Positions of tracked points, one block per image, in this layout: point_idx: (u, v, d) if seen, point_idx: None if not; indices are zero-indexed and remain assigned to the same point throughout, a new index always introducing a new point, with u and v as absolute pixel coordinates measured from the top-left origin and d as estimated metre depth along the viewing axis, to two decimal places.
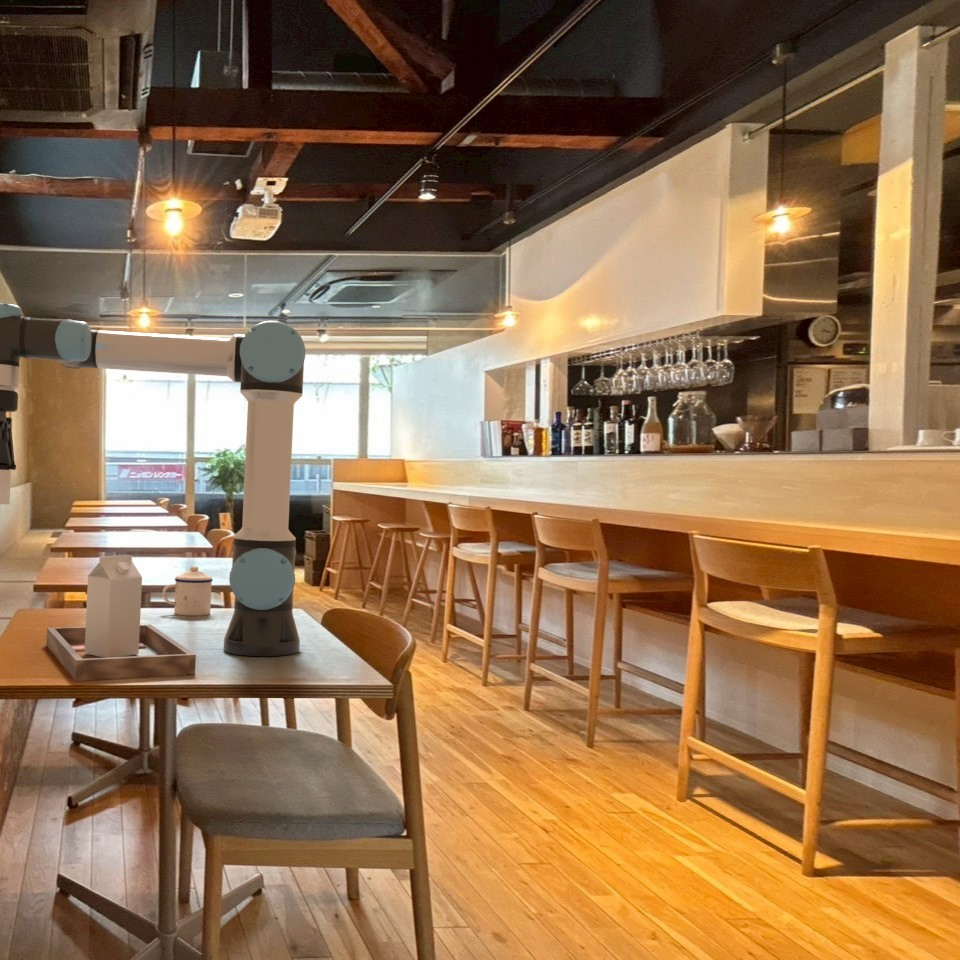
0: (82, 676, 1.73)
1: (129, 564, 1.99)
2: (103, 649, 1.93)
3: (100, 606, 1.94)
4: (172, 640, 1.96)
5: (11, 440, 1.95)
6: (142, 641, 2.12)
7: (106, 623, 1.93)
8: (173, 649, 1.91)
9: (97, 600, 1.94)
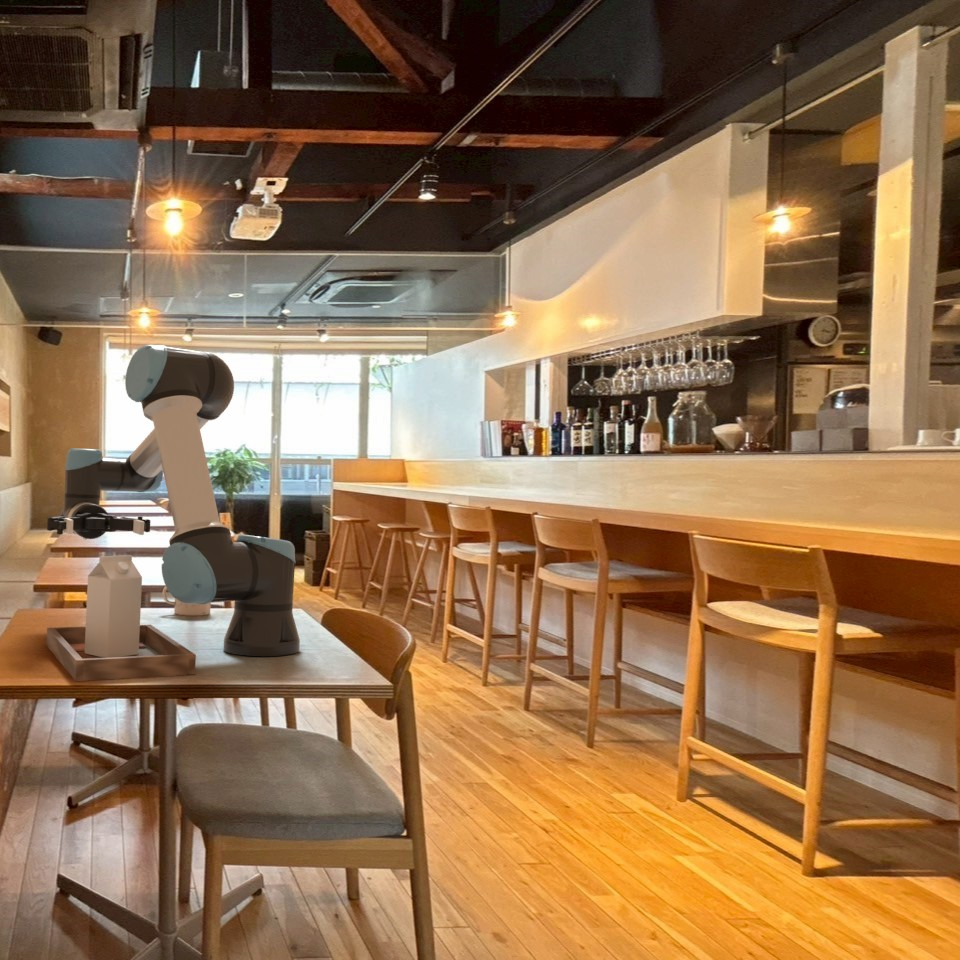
0: (82, 676, 1.73)
1: (129, 564, 1.99)
2: (103, 649, 1.93)
3: (100, 606, 1.94)
4: (172, 640, 1.96)
5: (132, 518, 2.20)
6: (142, 641, 2.12)
7: (106, 623, 1.93)
8: (173, 649, 1.91)
9: (97, 600, 1.94)
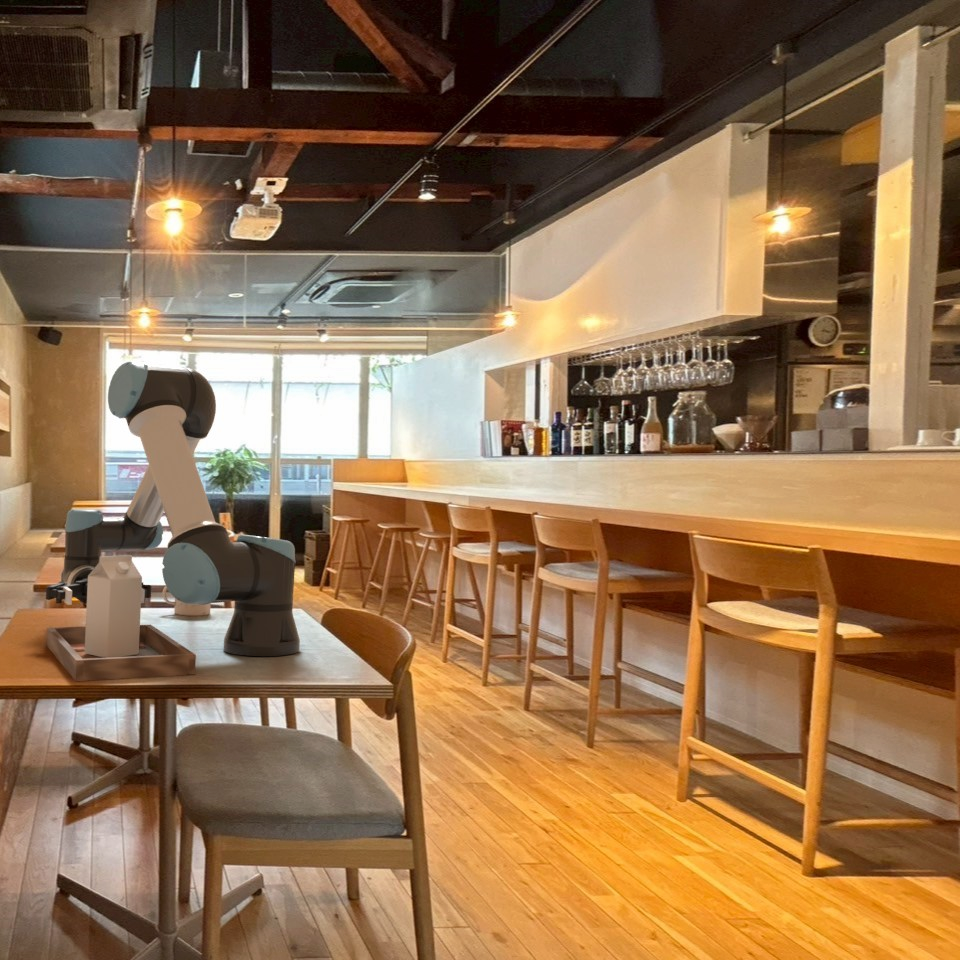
0: (82, 676, 1.73)
1: (129, 564, 1.99)
2: (103, 649, 1.93)
3: (100, 606, 1.94)
4: (172, 640, 1.96)
5: None
6: (142, 641, 2.12)
7: (106, 623, 1.93)
8: (173, 649, 1.91)
9: (97, 600, 1.94)
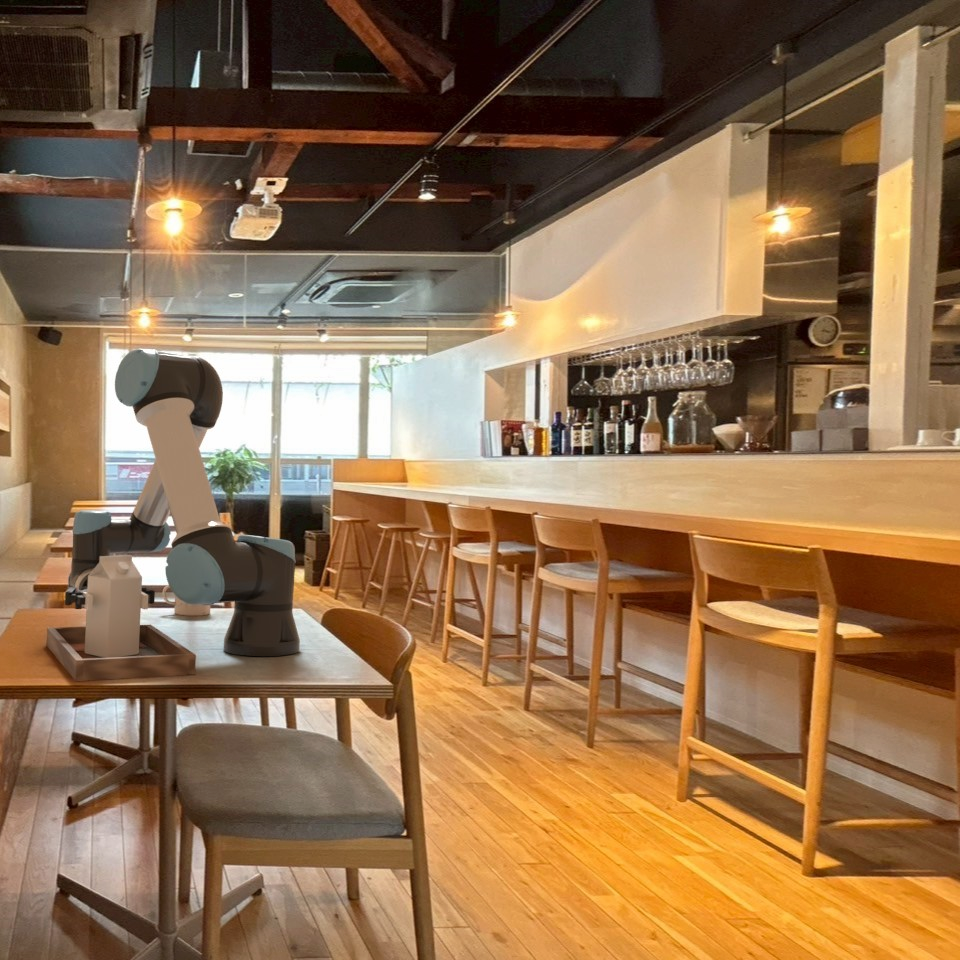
0: (82, 676, 1.73)
1: (129, 564, 1.99)
2: (103, 649, 1.93)
3: (100, 606, 1.94)
4: (172, 640, 1.96)
5: None
6: (142, 641, 2.12)
7: (106, 623, 1.93)
8: (173, 649, 1.91)
9: (97, 600, 1.94)
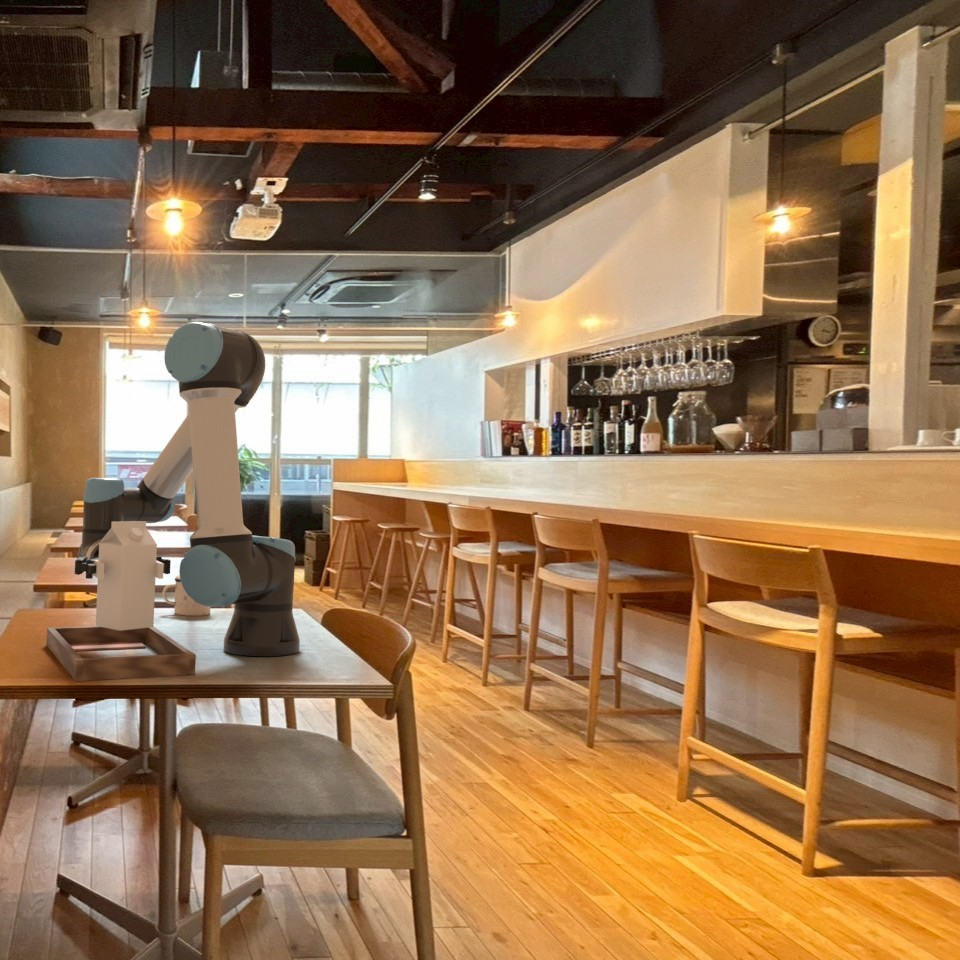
0: (82, 676, 1.73)
1: (143, 531, 1.86)
2: (116, 621, 1.80)
3: (112, 575, 1.81)
4: (172, 640, 1.96)
5: None
6: (142, 641, 2.12)
7: (119, 592, 1.80)
8: (173, 649, 1.91)
9: (109, 568, 1.81)
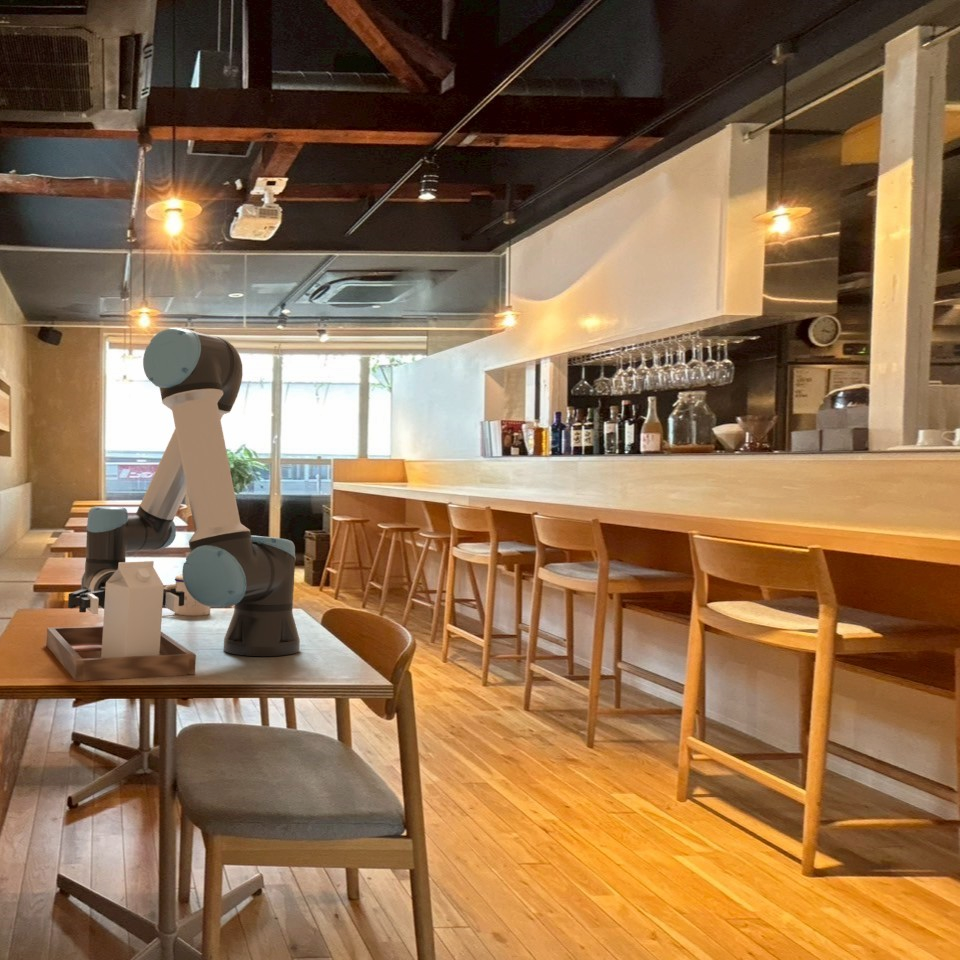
0: (82, 676, 1.73)
1: (150, 571, 1.84)
2: None
3: (118, 616, 1.79)
4: (172, 640, 1.96)
5: None
6: None
7: (124, 635, 1.78)
8: (173, 649, 1.91)
9: (115, 609, 1.80)
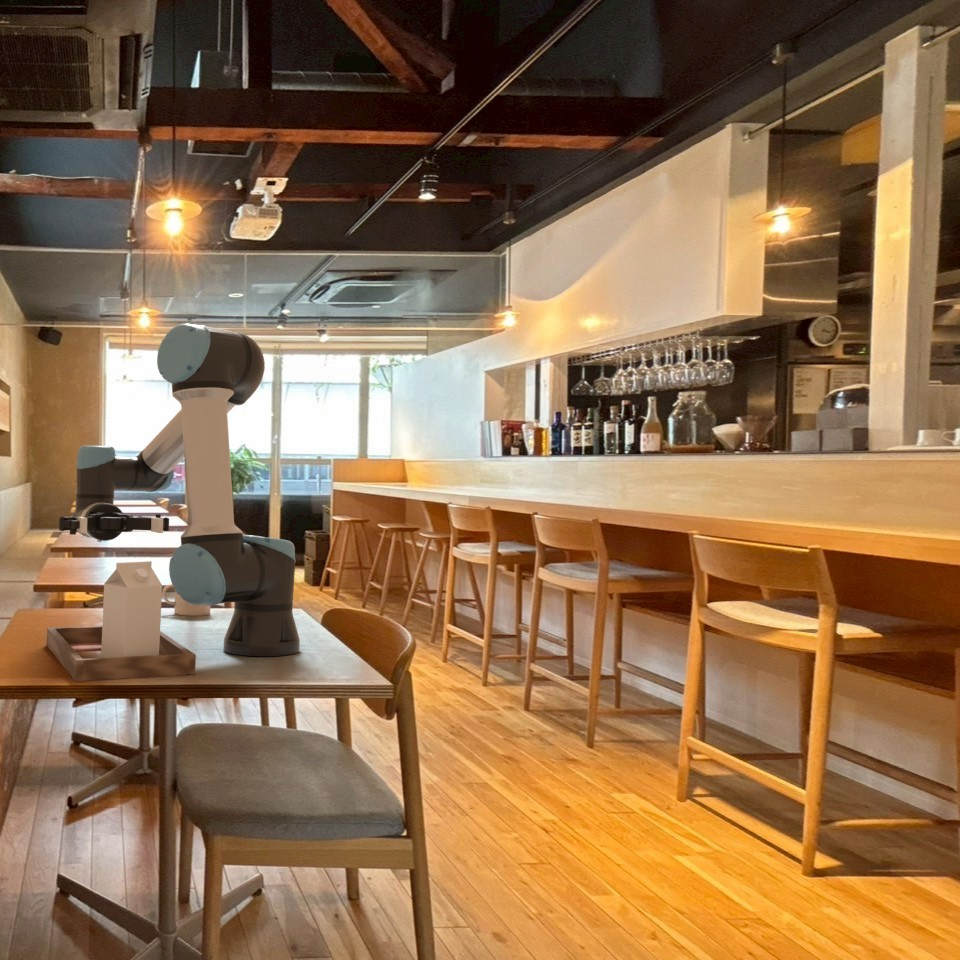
0: (82, 676, 1.73)
1: (148, 571, 1.84)
2: None
3: (117, 617, 1.79)
4: (172, 640, 1.96)
5: (149, 517, 2.05)
6: None
7: (124, 635, 1.78)
8: (173, 649, 1.91)
9: (114, 610, 1.80)
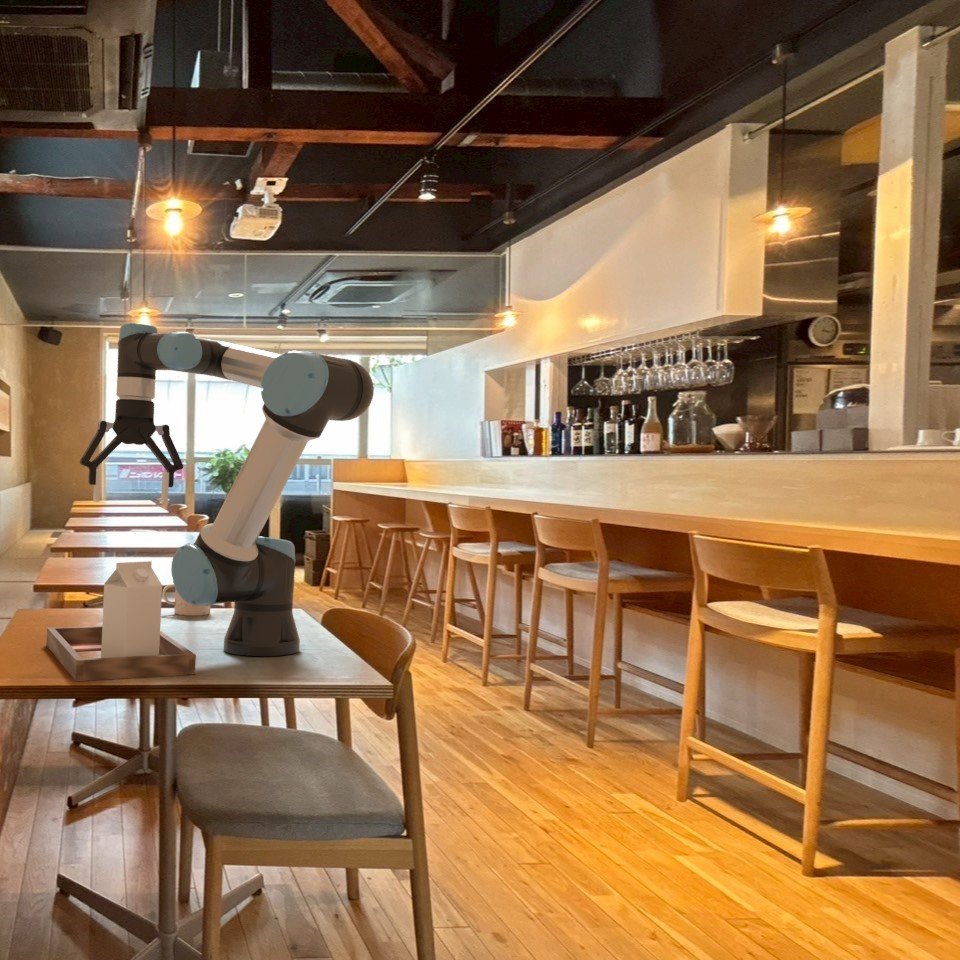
0: (82, 676, 1.73)
1: (148, 571, 1.84)
2: None
3: (117, 617, 1.79)
4: (172, 640, 1.96)
5: (170, 445, 2.14)
6: None
7: (124, 635, 1.78)
8: (173, 649, 1.91)
9: (114, 610, 1.80)
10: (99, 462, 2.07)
